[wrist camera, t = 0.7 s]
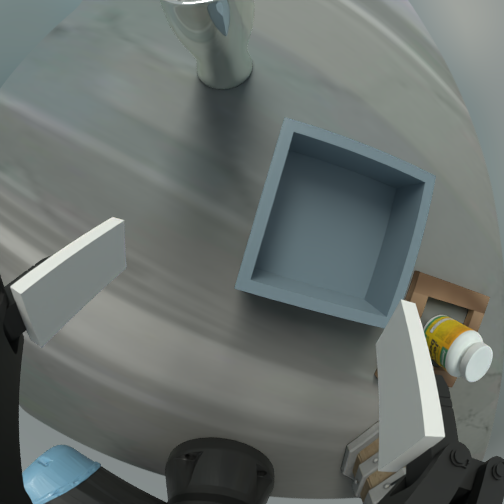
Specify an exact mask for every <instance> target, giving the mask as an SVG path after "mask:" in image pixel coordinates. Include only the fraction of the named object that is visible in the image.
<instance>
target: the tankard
mask: <svg viewBox="0 0 504 504" xmlns="http://www.w3.org/2000/svg"><path fill="white" fill-rule="evenodd" d="M378 461H379V422H377V423H376V424H374V425H373V426H372V427H371V428H369V429H368V430H367V431H366V432H364V433H363V434H362V435H360V436H359V437H358V438H356V439H355V440H354V441H352V442H351V443H349V444H348V445H347V448H346V452H345V456H344V460H343V463H342V467H341V469H342V473H343V474H344V475H345V476H347V477H349V478H351V479H353V480H354V482H353V484H352V487H353V490H354V494H355V496H357V497H359V498H361V499H362V501H363V504H377V503H378V502H379V501H380V500H381V499H382V498H383V497H384V496H385V495H386V494H387V493H388V492H389V491H390V489H391V488H392V487H393V486H394V485H395V484H394V485H392V486H391V485H390V484H391V483H392V482H393V481H395V480H397V479H398V478H400V477H402V476H403V475H405V474H406V466H405V467H404V468H402V469H400V470H399V471H397V472H383V471H378Z"/></svg>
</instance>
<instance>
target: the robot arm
mask: <svg viewBox="0 0 504 504" xmlns="http://www.w3.org/2000/svg"><path fill="white" fill-rule="evenodd" d="M126 268H127V267H126V251H125V227H124V220H121V219H118V218H114V217H112V218H110V219H108V220H107V221H105V222H103V223H102V224H100V225H99V226H97V227H95V228H94V229H92V230H91V231H89V232H87V233H86V234H84V235H83V236H81V237H80V238H78V239H76V240H75V241H73V242H72V243H70V244H69V245H67V246H66V247H64V248H63V249H61V250H60V251H58V252H57V253H55V254H54V255H52V256H49V257H47V258H44V259H42V260H41V261H39V262H38V263H36V264H35V266H32V267H31V268H29V269H28V271H25V272H24V273H23V274H21V275H20V276H19V277H17V278H16V279H15V280H13V281H12V282H11V283H9V284H8V285H7V286H5V287H4V285H3V282H2V279H1V276H0V504H266V503H267V501H268V498H269V496H270V494H271V492H272V489H273V486H274V470H273V466H272V464H271V462H270V461H269V459H268V458H267V457H266V456H265V455H264V454H262V453H261V452H260V451H258V450H256V449H255V448H253V447H251V446H248V445H246V444H243V443H240V442H237V441H233V440H228V439H222V438H199V439H193V440H189V441H186V442H184V443H182V444H180V445H178V446H177V447H176V448H174V449H173V451H172V452H171V454H170V456H169V458H168V461H167V464H166V468H165V475H166V484H167V493H168V502H167V503H166V502H164V501H162V500H160V499H158V498H156V497H154V496H152V495H150V494H148V493H146V492H144V491H142V490H140V489H138V488H137V487H135V486H133V485H131V484H129V483H128V482H126V481H124V480H122V479H121V478H119V477H118V476H116V475H114V474H112V473H111V472H109V471H108V470H106V469H105V468H103V467H101V464H100V463H98V462H94V461H92V460H90V459H89V458H87V457H86V456H84V455H83V454H81V453H79V452H78V451H77V450H75V449H74V448H72V447H69V446H67V445H57V446H54V447H52V448H50V449H49V450H47V451H46V452H44V453H43V454H42V455H41V456H39V457H38V458H37V459H36V460H35V461H34V462H33V463H32V464H31V465H30V466H29V467H28V468H27V469H26V470H24V472H23V473H22V469H21V458H20V444H19V386H20V371H21V360H22V351H23V343H24V336H23V334H22V333H23V332H24V331H25V330H27V333H28V335H29V337H30V340H32V341H33V342H34V343H36V344H37V345H38V346H40V347H41V348H42V347H43V346H44V345H45V344H46V343H47V342H48V341H49V340H50V339H51V338H52V337H53V336H54V335H55V334H56V333H57V332H58V331H59V330H60V329H61V328H62V327H63V326H64V325H65V324H66V323H67V322H68V321H69V320H70V319H71V318H72V317H73V316H75V315H76V314H77V313H78V312H79V311H80V310H81V309H82V308H83V307H84V306H85V305H86V304H87V303H88V302H89V301H90V300H92V299H93V298H94V297H95V296H96V295H97V294H98V293H99V292H100V291H101V290H102V289H104V288H105V287H106V286H107V285H108V284H109V283H110V282H111V281H112V280H114V279H115V278H116V277H117V276H118V275H119V274H120V273H121V272H123V271H124V270H125V269H126ZM376 354H377V368H378V388H379V461H378V471H383V472H397V471H399V470H400V469H402V468H404V467H405V466H406V474H405V475H403V476H402V477H400V478H398V479H397V480H395V481H393V482H392V483H391V484H390V485H391V486H392V485H394V484H395V485H394V486H393V487H392V488H391V489H390V491H389V492H388V493H387V494H386V495H385V496H384V497H383V498H382V499H381V500H380V501H379V502H378V503H377V504H502V502H503V498H504V459H502V458H501V457H498V456H495V457H492V458H491V459H489V460H488V461H486V462H482V461H479V460H476V459H474V458H471V454H470V451H469V449H468V448H467V447H466V446H465V445H464V444H462V443H461V442H459V441H458V435H457V429H456V423H455V417H454V412H453V409H452V402H451V399H450V392H449V388H448V385H447V383H446V382H445V380H444V378H443V376H442V375H437V374H434V371H433V366H432V362H431V358H430V354H429V350H428V346H427V342H426V338H425V334H424V331H423V327H422V324H421V320H420V317H419V314H418V310H417V307H416V304H415V303H412V302H409V301H405V300H400V302H399V304H398V306H397V307H396V309H395V311H394V313H393V315H392V317H391V318H390V320H389V322H388V324H387V326H386V327H385V329H384V331H383V332H382V334H381V336H380V338H379V339H378V341H377V343H376Z"/></svg>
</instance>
